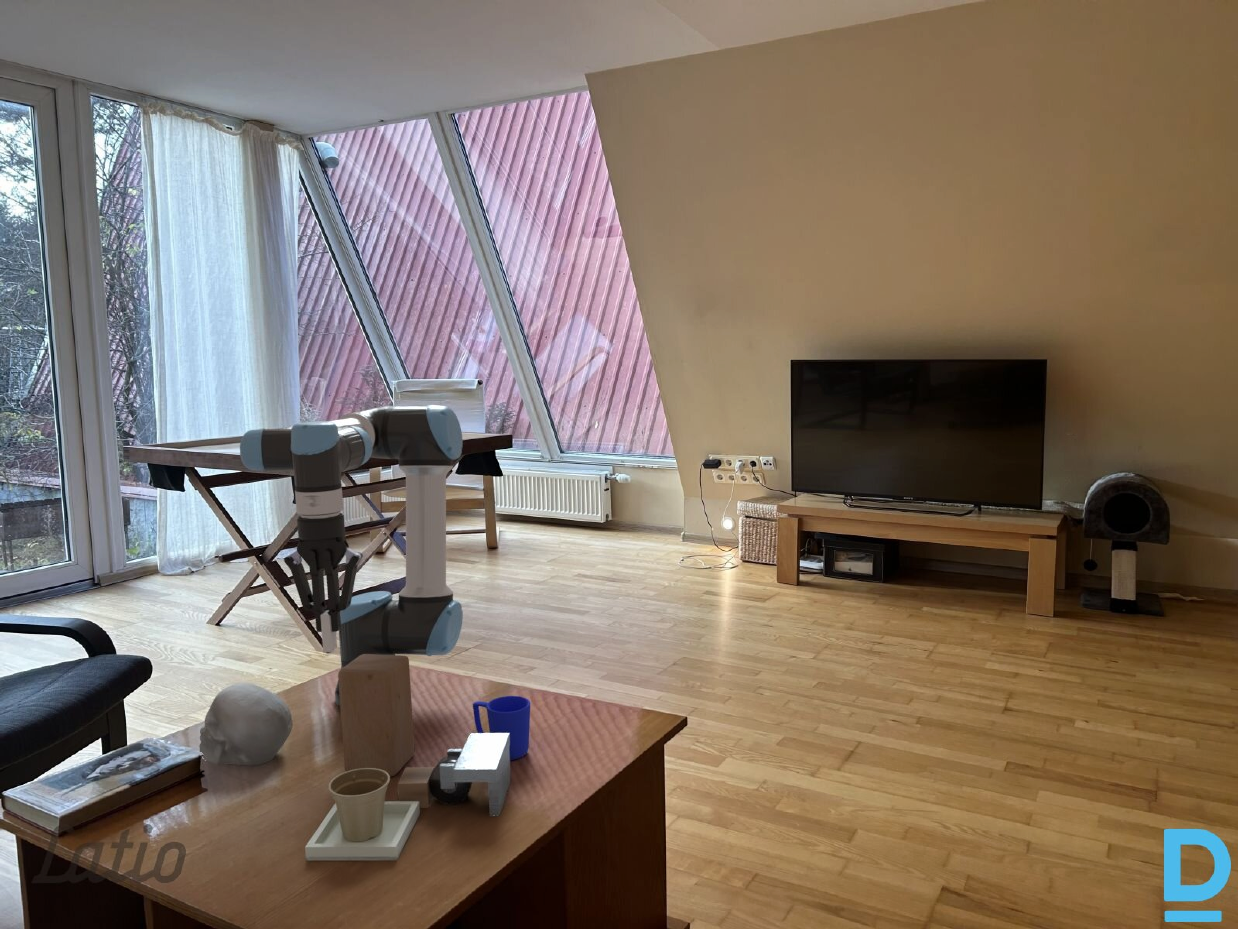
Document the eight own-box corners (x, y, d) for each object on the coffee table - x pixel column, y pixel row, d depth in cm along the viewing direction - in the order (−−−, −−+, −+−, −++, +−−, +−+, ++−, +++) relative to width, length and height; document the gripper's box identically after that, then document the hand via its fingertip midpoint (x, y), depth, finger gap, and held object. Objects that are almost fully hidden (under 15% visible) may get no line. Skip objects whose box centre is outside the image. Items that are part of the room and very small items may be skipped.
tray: (337, 814, 156) (336, 801, 156) (420, 813, 155) (419, 801, 155) (306, 860, 142) (305, 847, 142) (396, 860, 142) (395, 846, 141)
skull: (225, 736, 188) (226, 666, 186) (304, 755, 184) (306, 684, 181) (179, 766, 176) (179, 691, 173) (262, 787, 171) (263, 710, 169)
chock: (407, 791, 163) (405, 767, 163) (435, 791, 163) (434, 767, 163) (399, 809, 158) (397, 784, 157) (428, 808, 158) (427, 783, 157)
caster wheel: (442, 779, 167) (439, 733, 166) (511, 779, 167) (509, 733, 166) (423, 819, 153) (420, 769, 152) (498, 819, 153) (496, 769, 152)
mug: (488, 738, 184) (486, 690, 183) (540, 749, 179) (538, 699, 177) (463, 755, 177) (460, 705, 176) (516, 767, 171) (514, 715, 170)
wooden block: (393, 779, 168) (387, 673, 165) (342, 775, 170) (335, 670, 167) (416, 755, 178) (410, 654, 175) (368, 751, 180) (361, 651, 177)
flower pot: (396, 841, 146) (392, 789, 145) (333, 853, 143) (329, 800, 142) (389, 813, 155) (386, 763, 154) (330, 824, 152) (327, 774, 150)
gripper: (273, 519, 153) (284, 657, 156) (351, 517, 152) (361, 656, 156) (290, 510, 160) (301, 642, 164) (365, 509, 160) (374, 641, 163)
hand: (330, 649), depth 160 cm, fingers closed
